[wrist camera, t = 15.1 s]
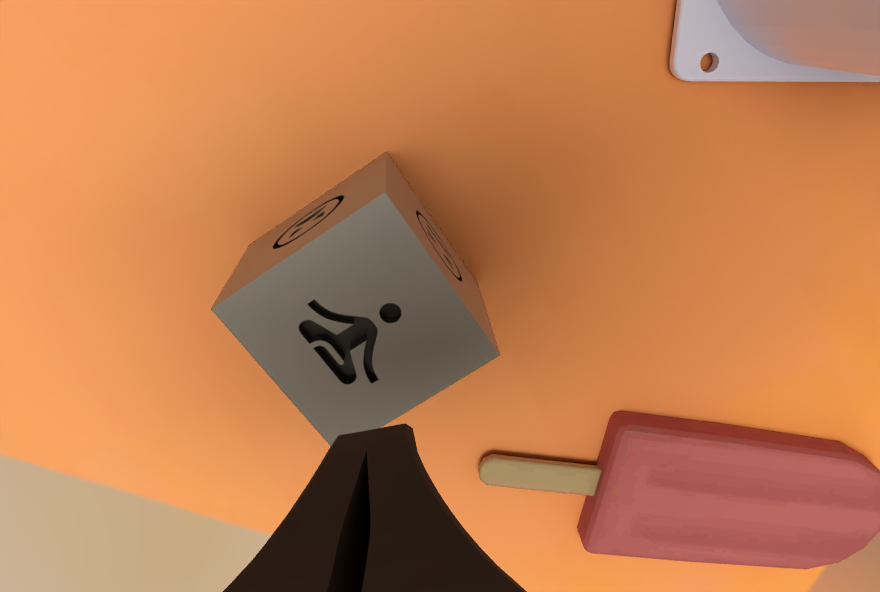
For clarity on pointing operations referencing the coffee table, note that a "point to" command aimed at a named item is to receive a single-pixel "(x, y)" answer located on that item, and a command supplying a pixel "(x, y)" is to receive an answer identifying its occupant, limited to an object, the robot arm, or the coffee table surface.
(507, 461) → the popsicle
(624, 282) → the coffee table surface
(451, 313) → the dice cube
